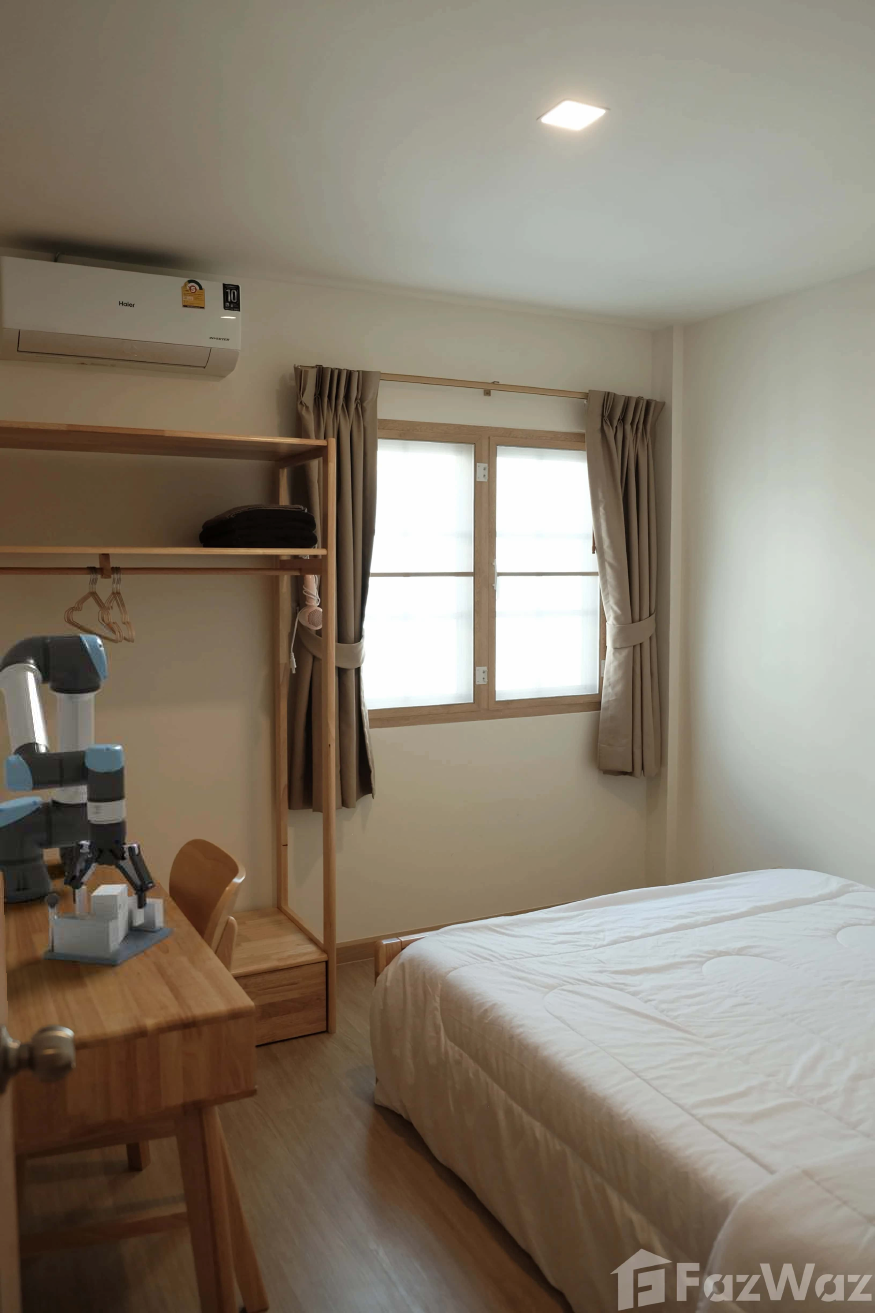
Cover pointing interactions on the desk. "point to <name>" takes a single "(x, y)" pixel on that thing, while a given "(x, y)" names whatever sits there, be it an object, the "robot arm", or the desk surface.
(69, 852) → the stone block
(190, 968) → the desk surface
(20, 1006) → the desk surface
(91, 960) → the vise
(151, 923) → the jaw
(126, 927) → the small box
